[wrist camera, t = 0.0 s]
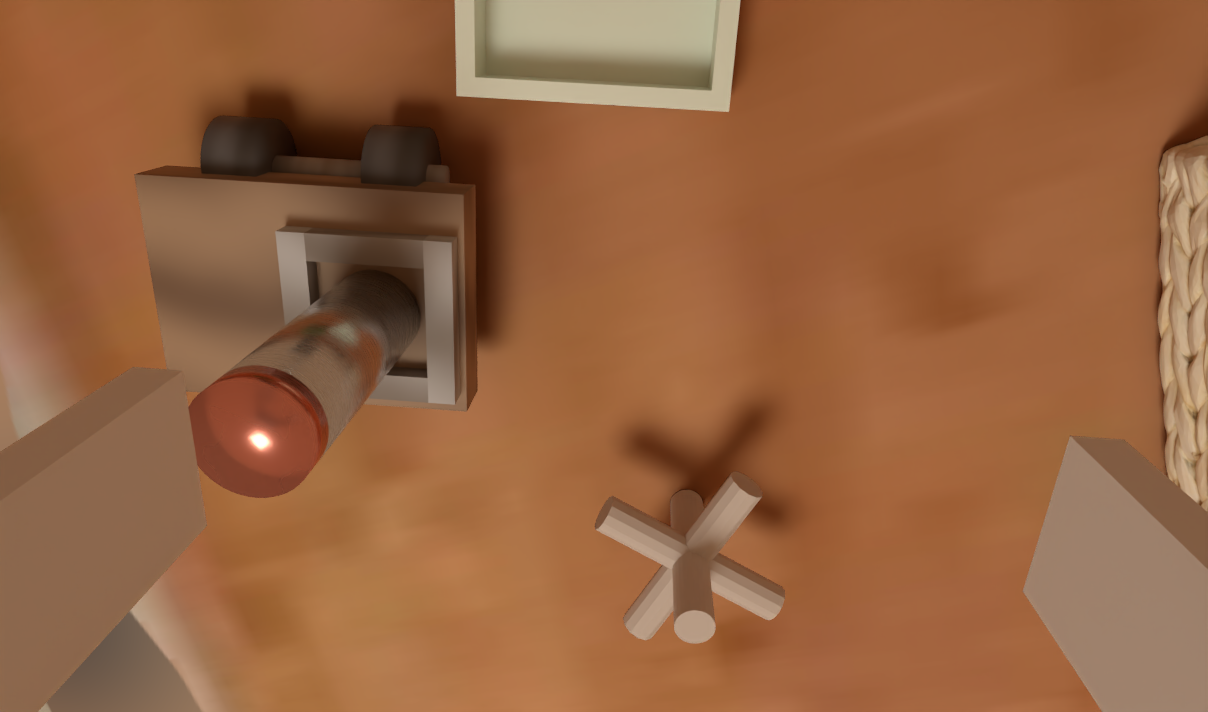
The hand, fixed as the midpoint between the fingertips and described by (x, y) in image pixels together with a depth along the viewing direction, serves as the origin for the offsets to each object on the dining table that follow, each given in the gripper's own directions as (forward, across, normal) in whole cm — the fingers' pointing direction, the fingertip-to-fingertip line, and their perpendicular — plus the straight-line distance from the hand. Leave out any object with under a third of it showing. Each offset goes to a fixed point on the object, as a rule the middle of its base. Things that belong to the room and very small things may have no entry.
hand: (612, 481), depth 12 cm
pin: (+22, -11, -6) cm, 26 cm away
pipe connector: (+28, +4, -18) cm, 34 cm away
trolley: (+28, -14, -5) cm, 32 cm away
